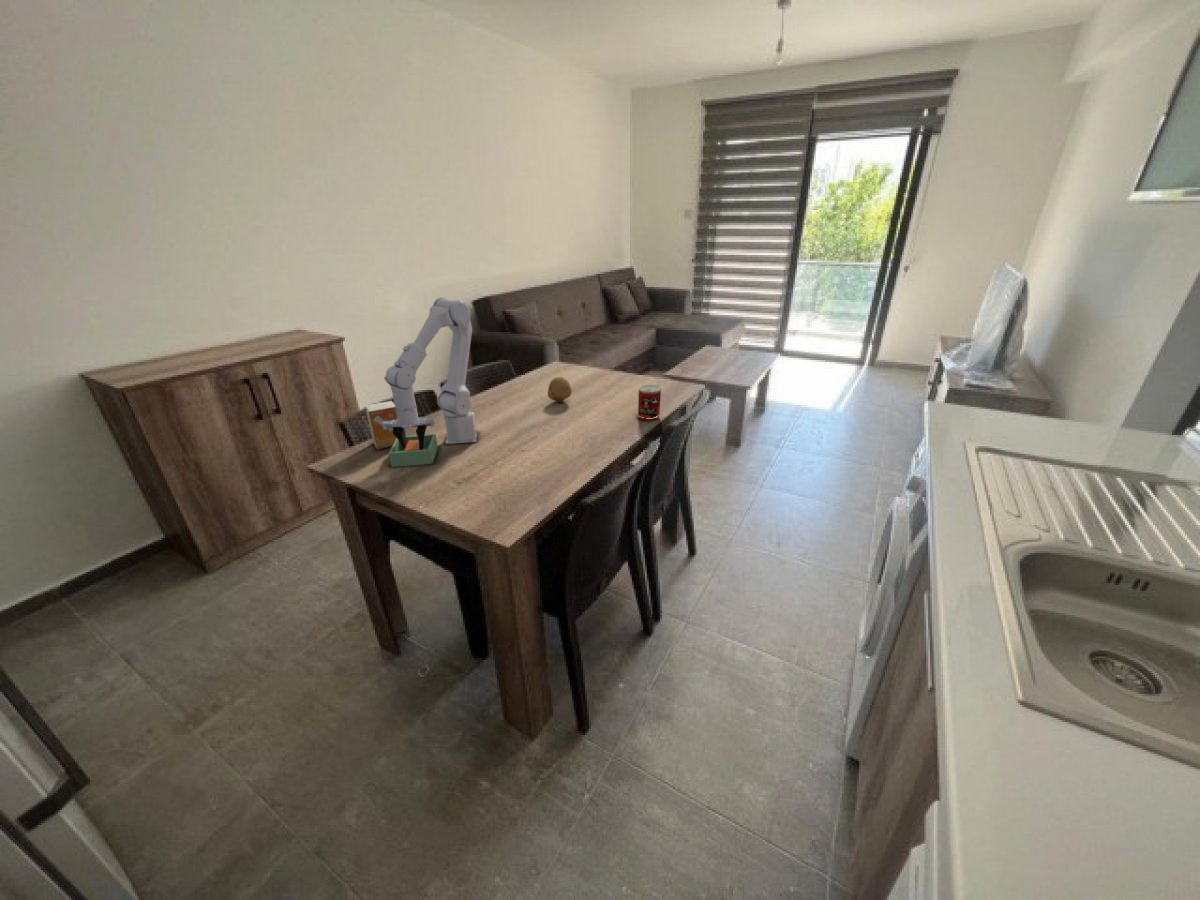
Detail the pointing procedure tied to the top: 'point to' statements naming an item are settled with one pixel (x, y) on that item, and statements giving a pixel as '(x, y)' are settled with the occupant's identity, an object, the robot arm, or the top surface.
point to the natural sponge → (559, 389)
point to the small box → (376, 418)
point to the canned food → (649, 402)
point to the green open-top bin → (413, 452)
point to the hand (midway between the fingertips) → (414, 448)
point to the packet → (412, 445)
